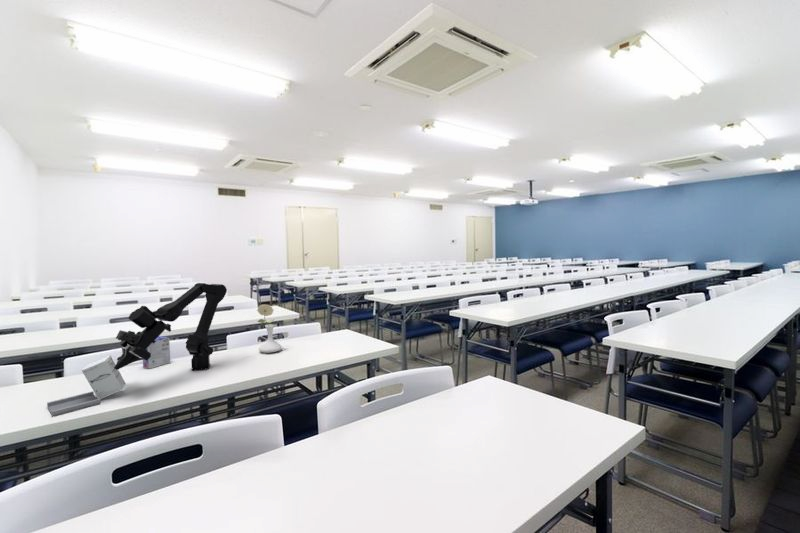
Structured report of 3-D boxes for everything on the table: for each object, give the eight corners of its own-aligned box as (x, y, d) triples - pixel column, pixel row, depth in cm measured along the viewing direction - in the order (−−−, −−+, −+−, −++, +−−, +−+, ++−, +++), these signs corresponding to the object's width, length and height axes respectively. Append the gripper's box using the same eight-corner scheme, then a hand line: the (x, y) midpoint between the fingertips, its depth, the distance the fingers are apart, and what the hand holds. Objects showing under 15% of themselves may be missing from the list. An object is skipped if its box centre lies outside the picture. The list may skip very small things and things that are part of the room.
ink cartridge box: (164, 361, 169) (163, 331, 168) (171, 362, 166) (170, 332, 166) (141, 367, 160) (140, 336, 159) (148, 369, 158) (147, 337, 157)
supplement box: (98, 401, 125) (80, 370, 122) (104, 393, 132) (87, 364, 129) (122, 390, 128) (105, 360, 125) (126, 383, 135) (110, 354, 132)
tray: (93, 395, 130) (92, 391, 130) (100, 403, 123) (100, 399, 123) (47, 407, 120) (47, 402, 120) (52, 416, 113) (52, 411, 113)
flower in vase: (286, 349, 189) (285, 303, 187) (273, 355, 178) (272, 306, 176) (264, 347, 192) (263, 302, 190) (251, 353, 181) (250, 305, 179)
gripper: (124, 319, 139) (89, 352, 131) (139, 325, 128) (101, 362, 120) (148, 335, 146) (116, 368, 138) (165, 342, 134) (130, 378, 126)
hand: (115, 368), depth 130 cm, fingers closed
